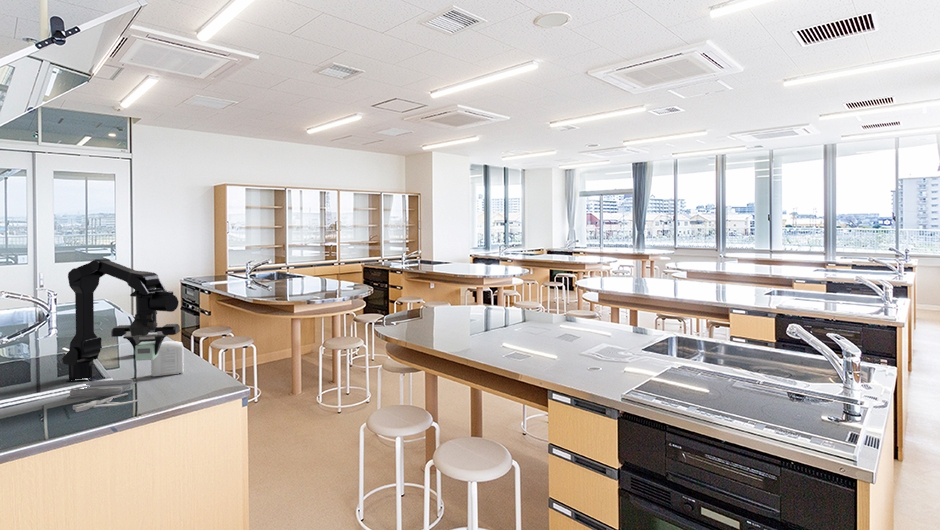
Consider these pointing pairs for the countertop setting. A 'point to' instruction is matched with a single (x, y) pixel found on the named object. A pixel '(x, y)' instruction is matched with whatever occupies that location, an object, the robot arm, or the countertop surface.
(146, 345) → the green module
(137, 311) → the robot arm
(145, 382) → the countertop surface
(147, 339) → the electrical switch
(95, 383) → the mounting board
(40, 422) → the countertop surface
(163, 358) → the photo printer
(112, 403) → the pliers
